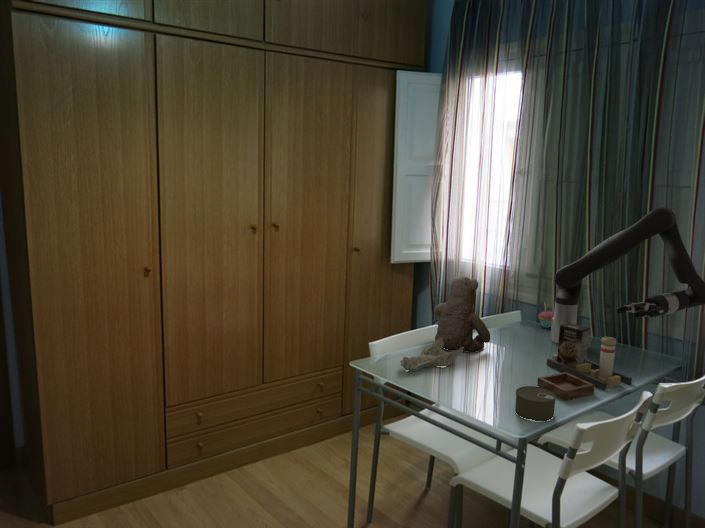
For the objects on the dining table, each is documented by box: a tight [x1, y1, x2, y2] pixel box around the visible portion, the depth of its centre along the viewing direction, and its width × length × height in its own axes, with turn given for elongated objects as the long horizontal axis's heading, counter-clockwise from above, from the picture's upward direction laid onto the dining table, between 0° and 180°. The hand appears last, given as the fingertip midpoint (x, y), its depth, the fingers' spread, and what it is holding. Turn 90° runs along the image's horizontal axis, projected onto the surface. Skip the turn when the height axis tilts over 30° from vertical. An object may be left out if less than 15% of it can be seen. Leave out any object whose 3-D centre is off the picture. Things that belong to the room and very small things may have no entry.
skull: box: [399, 337, 464, 372], centre depth 228 cm, size 12×8×25 cm
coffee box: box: [556, 323, 591, 369], centre depth 228 cm, size 9×6×16 cm
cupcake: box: [537, 300, 554, 329], centre depth 281 cm, size 9×8×12 cm
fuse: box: [598, 336, 617, 383], centre depth 214 cm, size 5×5×16 cm
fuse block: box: [546, 353, 633, 391], centre depth 223 cm, size 28×14×3 cm, turn 26°
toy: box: [433, 275, 491, 353], centre depth 249 cm, size 26×20×30 cm
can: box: [514, 385, 557, 421], centre depth 188 cm, size 12×12×7 cm
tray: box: [536, 372, 596, 401], centre depth 207 cm, size 13×13×3 cm
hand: (626, 312), depth 217 cm, fingers open, 8 cm apart
